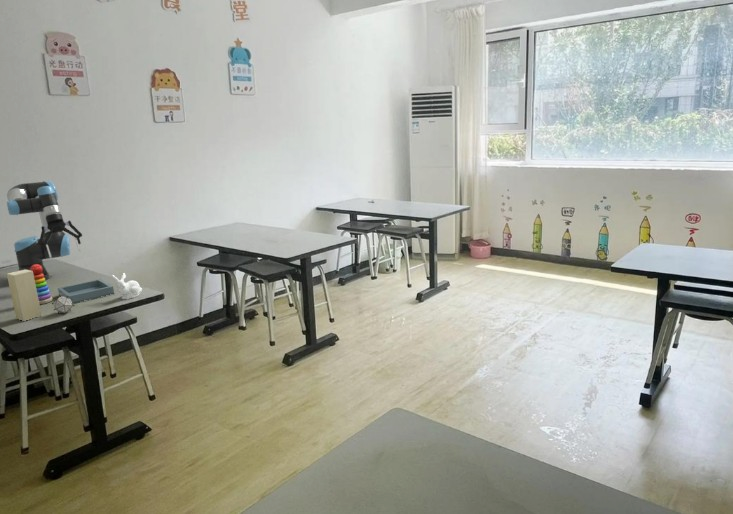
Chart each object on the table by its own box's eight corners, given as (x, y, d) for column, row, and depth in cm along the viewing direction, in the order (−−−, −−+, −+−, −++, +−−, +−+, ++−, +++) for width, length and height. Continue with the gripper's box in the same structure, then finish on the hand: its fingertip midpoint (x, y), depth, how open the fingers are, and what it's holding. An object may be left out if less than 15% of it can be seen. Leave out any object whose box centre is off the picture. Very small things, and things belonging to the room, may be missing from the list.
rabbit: (124, 301, 257) (119, 277, 254) (112, 298, 262) (108, 274, 259) (146, 294, 267) (142, 270, 264) (134, 291, 272) (131, 268, 269)
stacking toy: (56, 299, 266) (49, 262, 261) (45, 304, 258) (37, 266, 254) (41, 299, 267) (33, 262, 262) (30, 305, 259) (22, 267, 254)
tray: (59, 295, 271) (57, 288, 270) (101, 286, 284) (100, 278, 283) (70, 304, 257) (68, 296, 256) (114, 294, 269) (113, 286, 268)
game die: (63, 320, 247) (58, 300, 250) (80, 312, 247) (75, 292, 250) (50, 317, 239) (45, 296, 242) (67, 309, 239) (62, 288, 242)
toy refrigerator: (34, 313, 247) (24, 268, 241) (42, 316, 243) (32, 270, 237) (15, 319, 240) (5, 273, 235) (23, 322, 236) (13, 275, 231)
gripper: (25, 218, 275) (37, 258, 274) (79, 207, 287) (91, 246, 286) (27, 222, 282) (39, 261, 281) (79, 211, 293) (91, 249, 292)
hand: (65, 253), depth 283 cm, fingers open, 13 cm apart
